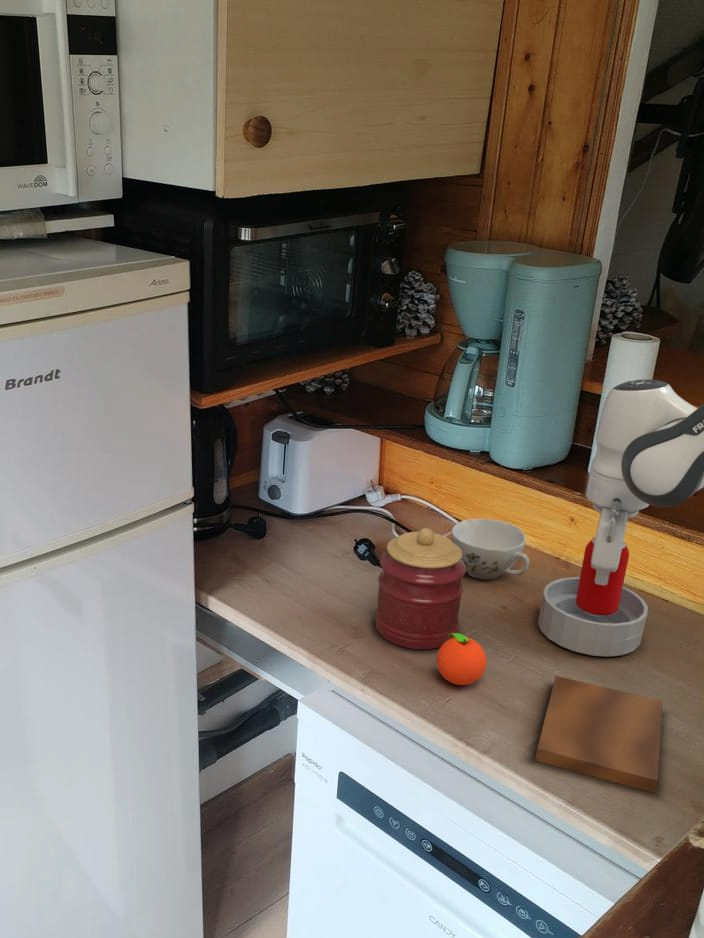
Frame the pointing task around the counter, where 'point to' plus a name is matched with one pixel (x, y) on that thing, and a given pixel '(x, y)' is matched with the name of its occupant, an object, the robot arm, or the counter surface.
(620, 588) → the beverage can
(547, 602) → the grey round bowl
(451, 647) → the clementine
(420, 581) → the kitchen canister
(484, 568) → the teacup
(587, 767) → the cutting board
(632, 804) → the counter surface
